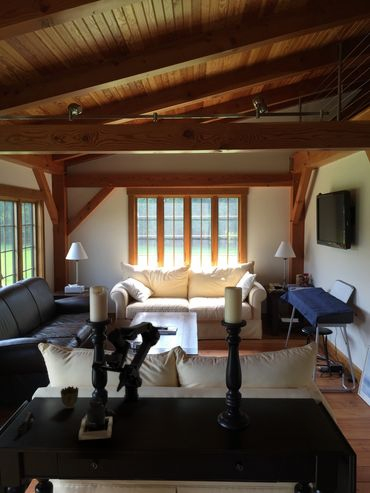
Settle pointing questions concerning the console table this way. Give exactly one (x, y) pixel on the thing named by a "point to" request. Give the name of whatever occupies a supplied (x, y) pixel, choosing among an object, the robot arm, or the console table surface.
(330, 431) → the console table surface
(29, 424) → the lighter
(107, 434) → the collar
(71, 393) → the potted succulent
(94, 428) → the supplement bottle
